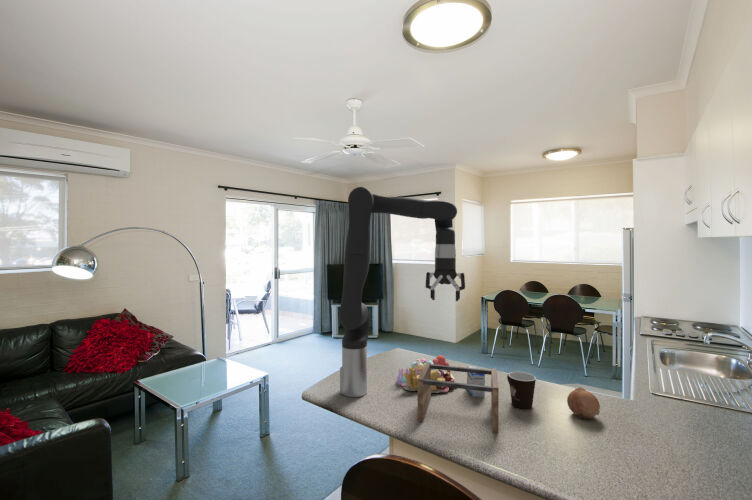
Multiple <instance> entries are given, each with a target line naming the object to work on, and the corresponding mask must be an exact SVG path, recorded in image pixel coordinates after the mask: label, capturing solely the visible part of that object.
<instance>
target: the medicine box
mask: <svg viewBox="0 0 752 500" xmlns="http://www.w3.org/2000/svg"><path fill="white" fill-rule="evenodd" d="M466 368H476V369H481V368H480V367H479V366H477V365H476V366H474V365H472V366H471V365H469V366H468V365H467V366H466ZM466 384H473V385H482V386H486V374H478V373H468V372H466ZM467 391H468V392H469V393H470V395H471V396H472V397H473V398H484V397H485V396H486V391H477V390H468V389H467Z"/></svg>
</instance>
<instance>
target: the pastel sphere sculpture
mask: <svg viewBox="0 0 752 500" xmlns="http://www.w3.org/2000/svg"><path fill="white" fill-rule="evenodd" d="M426 362H430V363H431V364H434V365H445V366H450V363H449V362H447V361H446V358H445V355H441V354H439V355H437V356H436V358H433V360H428V361H427V359H425V358H420V359H419V358H417V359H416V360H415V362H414V361H413V362H412V363H411V365H410V367H406V369H405V370H404V369H403V368H401V367H398V374H397V376H396V377H397V381H396V382H397V383H396V384H397V385H398V386H399V387H402V389H404V390H406V391H408V392H415V391H417V392H418V378H419V376H420V374H421V372H422V370H423V368H424V366H425V364H426ZM431 380H437V381H446V382H455V383H456V379H455V376H454V375H453V374H452V371H449V370H445V371H444V370H439V369H431ZM450 390H451V391H454V392H455V388H451V387H442V386H433V385H431V394H434V393H436V394H438V393H449V391H450Z"/></svg>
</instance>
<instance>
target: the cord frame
mask: <svg viewBox="0 0 752 500" xmlns="http://www.w3.org/2000/svg"><path fill="white" fill-rule="evenodd" d="M431 369H439V370H442V371H446V370H449V371H450V372H459V373H460V372H461V373H467V372H468V373H478V374H485V375H490V376H491V381H490V382H491V384H490V386H489V385H485V386H482V385H473V384H467V383H462V382H456V381H455V382H446V381H437V380H431ZM497 371H498V370H497V368H493V367H492V368H491V369H485V368H480V369H476V368H467V367H465V366H464V367H463V366H452V365H449V366H445V365H434V364H431V363H430V362H428V361H427V362H426V364H425V366H424V368H423V370H422V372H421V374H420V376H419V378H418V391H417V422H421V423H423V422H424V419H425V417H426V413H427V411H428V408H429V406H430V403H431V401H432V393H431V385H433V386H442V387H451V388H454V389H461V390H467V391H468V390H477V391H485V393H486V392H488V393H490V394H491V397H490V404H491V407H490V409H491V410H490V411H491V426H492V427H491V428H492V433H499V420H500V419H499V413H500V412H499V407H500V406H499V403H500V402H499V397H500V395H499V379H498V372H497Z"/></svg>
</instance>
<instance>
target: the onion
mask: <svg viewBox="0 0 752 500" xmlns="http://www.w3.org/2000/svg"><path fill="white" fill-rule="evenodd" d="M566 402H567V406H568V409H569V410H570V411H571V413H573V414H574V415H576V416H577V417H579V418H580V419H584V420H588V419H589V420H590V419H594V417H596V416H599V414H600V412H601V411H600V409H601V404H600V402H599V400H598V398H597V397H596V395H594V394H593V393H591V392H590V391H587V390H586V389H584V388H583V387H580V386H579V387H577V388H575V389H574V390H572V391H571V392H569V394H568V395H567V399H566Z"/></svg>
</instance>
